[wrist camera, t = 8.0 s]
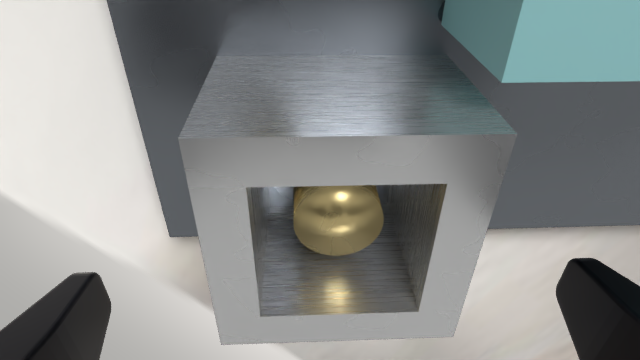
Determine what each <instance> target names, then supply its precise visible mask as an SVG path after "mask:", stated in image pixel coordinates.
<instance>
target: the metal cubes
mask: <svg viewBox="0 0 640 360" xmlns="http://www.w3.org/2000/svg"><path fill="white" fill-rule="evenodd" d="M107 3H108V7H109V11H110V15H111V18H112V22H113V26H114V30H115V33H116V37H117V41H118V45H119V48H120V52H121V56H122V60H123V63H124V67H125V71H126V75H127V78H128V82H129V86H130V90H131V93H132V97H133V101H134V105H135V108H136V112H137V116H138V120H139V123H140V127H141V131H142V135H143V138H144V142H145V146H146V150H147V153H148V157H149V161H150V165H151V169H152V172H153V176H154V180H155V184H156V187H157V191H158V195H159V199H160V202H161V206H162V210H163V214H164V217H165V221H166V225H167V229H168V232H169V236H170V237H191V236H198V231H197V227H196V222H195V217H194V212H193V208H192V203H191V198H190V193H189V188H188V184H187V179H186V174H185V169H184V164H183V160H182V155H181V150H180V145H179V140H178V138H179V135H180V133H181V131H182V129H183V127H184V125H185V123H186V120H187V118H188V116H189V114H190V112H191V110H192V108H193V105H194V103H195V101H196V99H197V97H198V95H199V93H200V90H201V88H202V86H203V84H204V82H205V80H206V78H207V76H208V73H209V71H210V69H211V67H212V65H213V63H214V61H215V58H216V56H350V55H448V56H449V58H450V59H451V60H452V61H453V62H454V63H455V64H456V65H457V67H458V68H459V69H460V70H461V71H462V72H463V73H464V74H465V76H466V77H467V78H468V79H469V80H470V81H471V82H472V83H473V85H474V86H475V87H476V88H477V89H478V90H479V91H480V92H481V94H482V95H483V96H484V97H485V98H486V99H487V100H488V101H489V103H490V104H491V105H492V106H493V107H494V108H495V109H496V110H497V112H498V113H499V114H500V115H501V116H502V117H503V118H504V119H505V121H506V122H507V123H508V124H509V125H510V126H511V127H512V128H513V130H514V131H515V132H516V133H517V137H516V140H515V143H514V146H513V149H512V152H511V156H510V159H509V162H508V165H507V168H506V171H505V175H504V178H503V181H502V184H501V187H500V190H499V194H498V197H497V200H496V203H495V206H494V209H493V213H492V216H491V219H490V222H489V225H488V228H487V229H502V228H540V227H579V226H618V225H640V81H615V82H525V83H501V82H500V81H499V80H498V79H497V78H496V77H495V76H494V75H493V74H492V73H491V72H490V71H489V70H488V69H487V68H486V67H485V66H484V65H483V64H482V63H480V62H479V61H478V60H477V59H476V58H475V57H474V56H473V55H472V54H471V53H470V52H469V51H468V50H467V49H466V48H465V47H464V46H463V45H462V44H461V43H460V42H459V41H458V40H457V39H456V38H455V37H454V36H452V35H451V34H450V33H449V32H448V31H447V30H446V29H445V28H444V27H443V26H442V25H441V23H442V17H443V11H444V5H445V0H107ZM389 189H390V185H350V186H296V187H268V190H269V203H270V206H294V217H293V225H294V231H295V234H296V236H297V237H298V239H299V240H300V242H301V243H302V244H303V245H305V246H306V247H307V248H309V249H311V250H312V251H315V252H317V253H320V254H324V255H331V256H340V255H347V254H351V253H355V252H357V251H360V250H362V249H364V248H365V247H367V246H369V245H370V244H371V243H372V242H373V241H374V240H375V239H376V238H377V237H378V235H379V234H380V232H381V230H382V227H383V223H384V216H383V211H382V207H381V204H388V197H389Z"/></svg>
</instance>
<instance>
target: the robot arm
mask: <svg viewBox="0 0 640 360" xmlns="http://www.w3.org/2000/svg"><path fill="white" fill-rule="evenodd" d="M556 297H557V300H558V303H559V306H560V308H561V311H562V314H563V316H564V319H565V322H566V325H567V327H568V330H569V333H570V335H571V338H572V341H573V343H574V346H575V349H576V351H577V354H578V357H579V359H580V360H640V286H638V285H637V284H635V283H634V282H632V281H630V280H629V279H627V278H625V277H624V276H622V275H621V274H619V273H617V272H616V271H614V270H613V269H611V268H609V267H608V266H606V265H605V264H603V263H601V262H600V261H598V260H596V259H593V258H575V259H572V260H570V261H569V262H568V264H567V266H566V268H565V270H564V272H563V274H562V276H561V278H560V280H559V282H558V284H557V287H556ZM110 313H111V301H110V298H109V296H108V294H107V291H106V289H105V286H104V284H103V282H102V279H101V277H100V275H98V274H97V273H95V272H85V273H74V274H72V275H70V276H69V277H67V278H66V279H65V280H64V281H62V282H61V283H60V284H59V285H57V286H56V287H55V288H54V289H52V290H51V291H50V292H49V293H47V294H46V295H45V296H44V297H42V298H41V299H40V300H38V301H37V302H36V303H35V304H34V305H32V306H31V307H30V308H28V309H27V310H26V311H25V312H23V313H22V314H21V315H20V316H18V317H17V318H16V319H14V320H13V321H12V322H11V323H9V324H8V325H7V326H6V327H4V328H3V329H2V330H1V331H0V360H99V358H100V354H101V350H102V346H103V342H104V338H105V334H106V330H107V326H108V322H109V318H110Z"/></svg>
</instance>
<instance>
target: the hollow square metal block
mask: <svg viewBox="0 0 640 360" xmlns="http://www.w3.org/2000/svg"><path fill="white" fill-rule="evenodd" d="M516 137H517V133H516V132H515V131H514V130H513V128H512V127H511V126H510V125H509V124H508V123H507V122H506V121H505V119H504V118H503V117H502V116H501V115H500V114H499V113H498V112H497V110H496V109H495V108H494V107H493V106H492V105H491V104H490V103H489V101H488V100H487V99H486V98H485V97H484V96H483V95H482V94H481V92H480V91H479V90H478V89H477V88H476V87H475V86H474V85H473V83H472V82H471V81H470V80H469V79H468V78H467V77H466V76H465V74H464V73H463V72H462V71H461V70H460V69H459V68H458V67H457V65H456V64H455V63H454V62H453V61H452V60H451V59H450V58H449V56H448V55H350V56H216V58H215V61H214V63H213V65H212V67H211V69H210V71H209V73H208V76H207V78H206V80H205V82H204V84H203V86H202V88H201V90H200V93H199V95H198V97H197V99H196V101H195V103H194V105H193V108H192V110H191V112H190V114H189V116H188V118H187V120H186V123H185V125H184V127H183V129H182V131H181V133H180V135H179V138H178V140H179V145H180V150H181V155H182V160H183V164H184V169H185V174H186V179H187V184H188V188H189V193H190V198H191V203H192V208H193V212H194V217H195V222H196V227H197V231H198V236H199V241H200V246H201V251H202V255H203V260H204V265H205V270H206V275H207V279H208V284H209V289H210V294H211V298H212V303H213V308H214V313H215V318H216V322H217V327H218V332H219V337H220V342H221V345H230V344H257V343H288V342H317V341H346V340H375V339H404V338H433V337H453V336H454V333H455V330H456V326H457V323H458V320H459V317H460V314H461V311H462V308H463V304H464V301H465V298H466V295H467V292H468V289H469V285H470V282H471V279H472V276H473V273H474V270H475V266H476V263H477V260H478V257H479V254H480V251H481V247H482V244H483V241H484V238H485V235H486V232H487V228H488V225H489V222H490V219H491V216H492V213H493V209H494V206H495V203H496V200H497V197H498V194H499V190H500V187H501V184H502V181H503V178H504V175H505V171H506V168H507V165H508V162H509V159H510V156H511V152H512V149H513V146H514V143H515V140H516ZM350 185H390V189H389V197H388V204H381V207H382V211H383V216H384V223H383V227H382V230H381V232H380V234H379V235H378V237H377V238H376V239H375V240H374V241H373V242H372V243H371V244H370V245H369V246H367V247H365V248H364V249H362V250H360V251H357V252H355V253H351V254H347V255H340V256H331V255H324V254H320V253H317V252H315V251H312V250H311V249H309V248H307V247H306V246H305V245H303V244H302V243H301V242H300V240H299V239H298V237H297V236H296V234H295V231H294V225H293V217H294V206H270V203H269V190H268V187H296V186H350Z"/></svg>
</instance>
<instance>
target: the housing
mask: <svg viewBox="0 0 640 360" xmlns="http://www.w3.org/2000/svg"><path fill="white" fill-rule="evenodd" d="M441 25H442V26H443V27H444V28H445V29H446V30H447V31H448V32H449V33H450V34H451V35H452V36H454V37H455V38H456V39H457V40H458V41H459V42H460V43H461V44H462V45H463V46H464V47H465V48H466V49H467V50H468V51H469V52H470V53H471V54H472V55H473V56H474V57H475V58H476V59H477V60H478V61H479V62H480V63H482V64H483V65H484V66H485V67H486V68H487V69H488V70H489V71H490V72H491V73H492V74H493V75H494V76H495V77H496V78H497V79H498V80H499V81H500V82H501V83H525V82H615V81H640V0H445V5H444V11H443V17H442V23H441Z"/></svg>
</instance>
